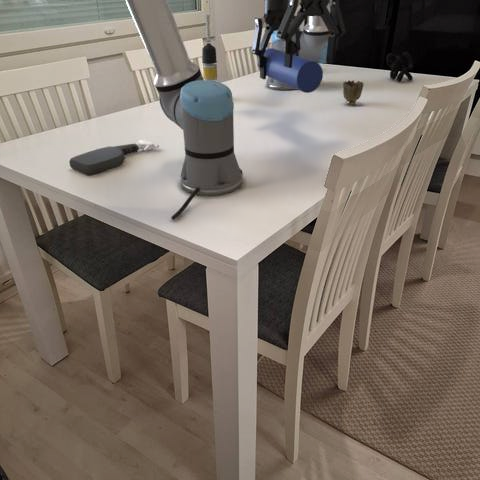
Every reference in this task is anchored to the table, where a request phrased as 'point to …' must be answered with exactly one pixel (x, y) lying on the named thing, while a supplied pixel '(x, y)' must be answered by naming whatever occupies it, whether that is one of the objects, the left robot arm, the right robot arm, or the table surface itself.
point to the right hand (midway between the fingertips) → (275, 76)
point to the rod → (293, 71)
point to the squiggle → (399, 66)
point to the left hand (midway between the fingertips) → (309, 65)
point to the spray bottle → (106, 157)
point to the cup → (352, 91)
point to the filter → (209, 57)
